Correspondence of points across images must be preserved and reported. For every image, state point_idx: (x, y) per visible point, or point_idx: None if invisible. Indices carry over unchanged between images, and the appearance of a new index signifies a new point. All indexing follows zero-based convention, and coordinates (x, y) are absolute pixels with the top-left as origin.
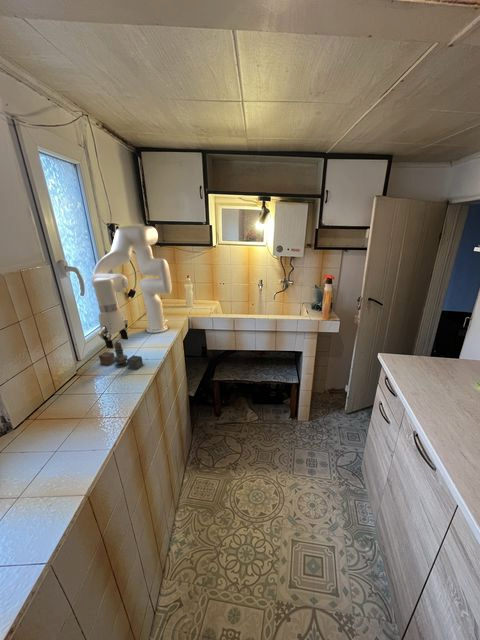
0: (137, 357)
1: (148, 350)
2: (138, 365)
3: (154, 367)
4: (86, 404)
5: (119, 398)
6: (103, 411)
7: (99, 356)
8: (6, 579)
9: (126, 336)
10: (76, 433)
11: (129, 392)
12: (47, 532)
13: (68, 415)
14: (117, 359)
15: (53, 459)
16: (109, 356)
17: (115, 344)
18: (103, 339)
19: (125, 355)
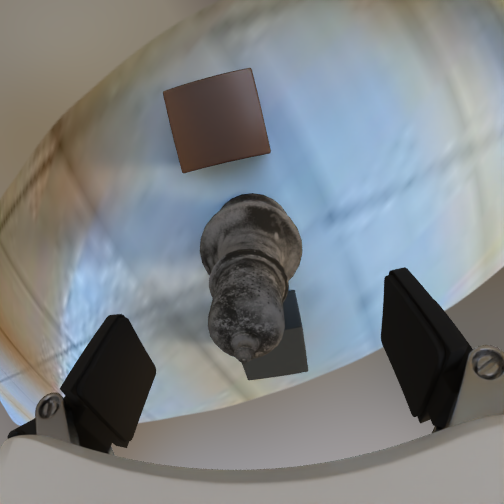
0: (287, 364)
1: (455, 224)
2: None
3: (301, 379)
4: (37, 342)
5: None
6: None
7: (165, 100)
8: (8, 413)
9: (396, 370)
10: (25, 380)
11: None
12: (21, 419)
13: (10, 335)
14: (212, 265)
15: (8, 383)
16: (212, 165)
17: (216, 335)
18: (41, 415)
19: (295, 257)
